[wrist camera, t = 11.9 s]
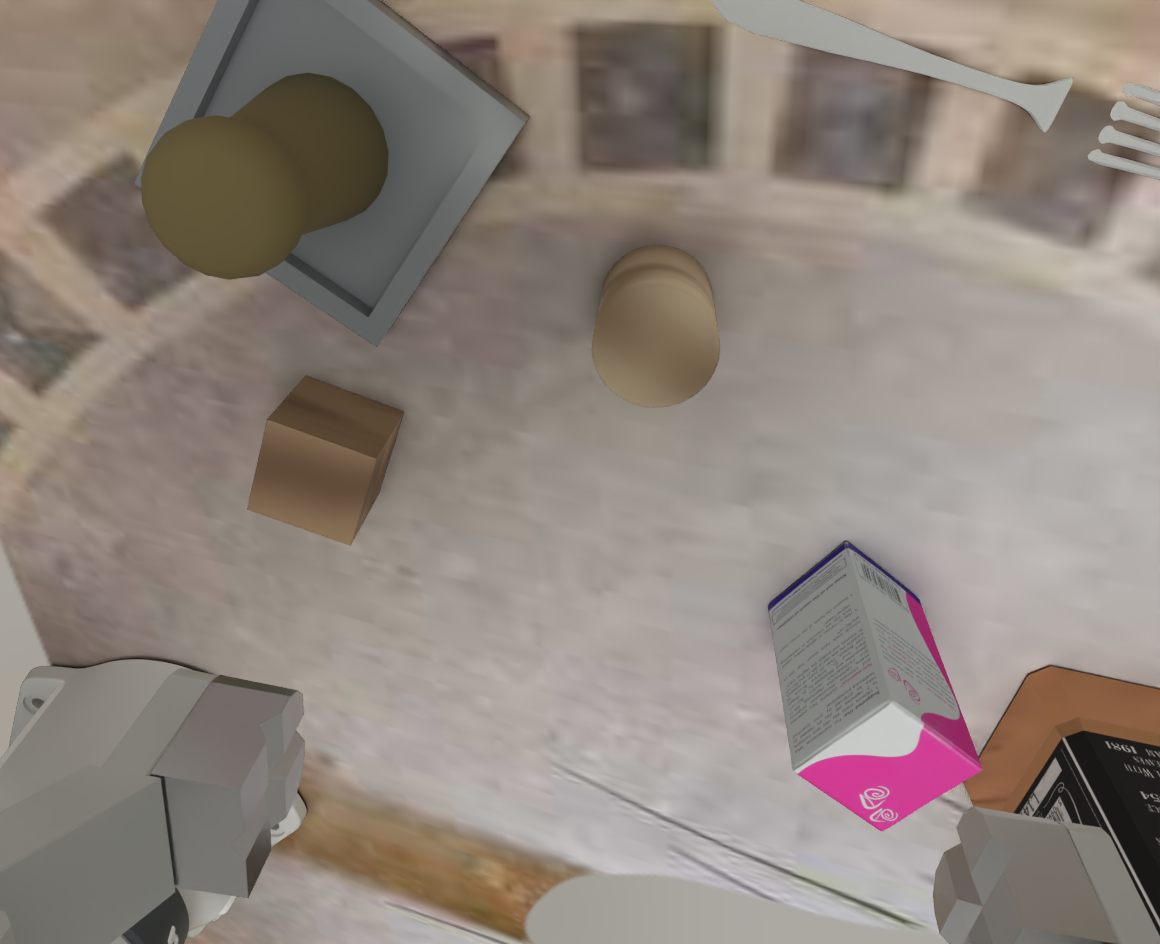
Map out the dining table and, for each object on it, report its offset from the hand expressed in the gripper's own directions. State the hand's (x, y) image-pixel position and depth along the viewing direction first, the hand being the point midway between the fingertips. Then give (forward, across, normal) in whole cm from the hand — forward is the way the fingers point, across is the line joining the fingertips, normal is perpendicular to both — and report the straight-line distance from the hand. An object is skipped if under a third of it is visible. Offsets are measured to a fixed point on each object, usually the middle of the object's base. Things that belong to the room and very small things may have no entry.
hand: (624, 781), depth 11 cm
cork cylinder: (+32, 0, +4) cm, 32 cm away
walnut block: (+32, +14, +14) cm, 37 cm away
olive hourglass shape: (+31, +15, 0) cm, 34 cm away
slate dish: (+32, +14, 0) cm, 35 cm away
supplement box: (+32, -13, +19) cm, 40 cm away
